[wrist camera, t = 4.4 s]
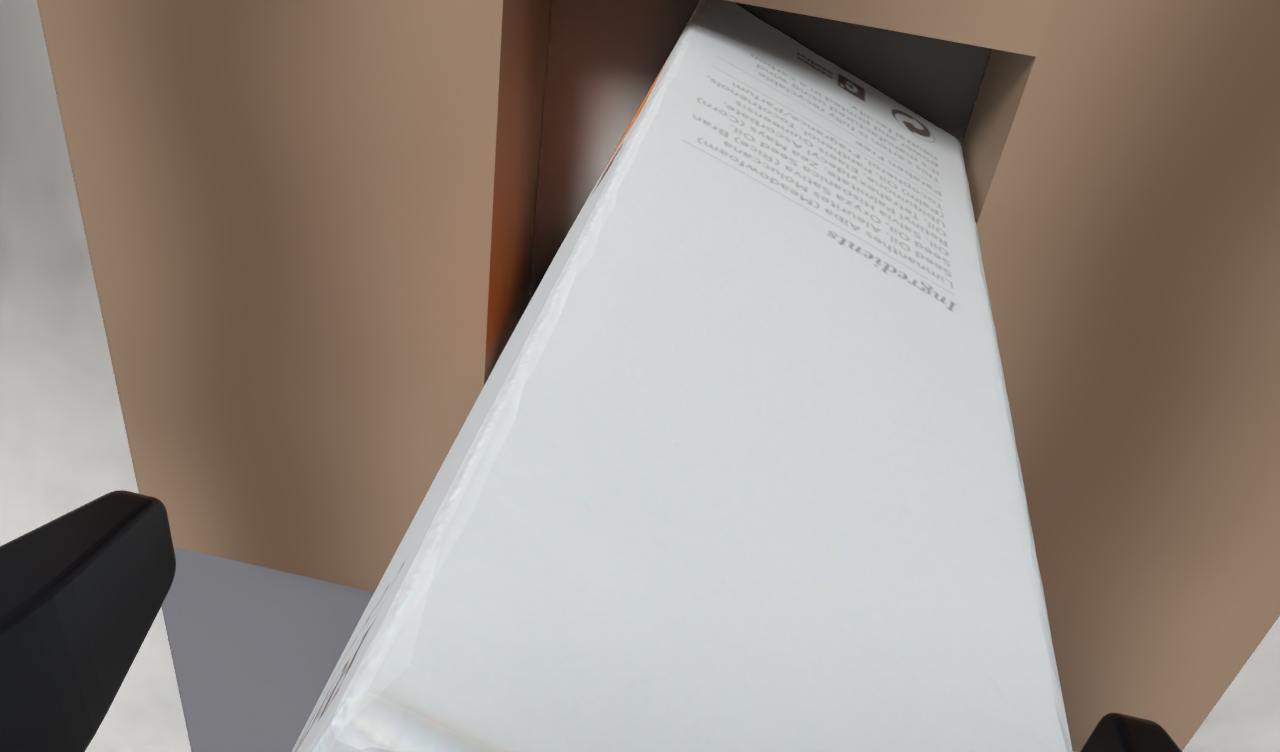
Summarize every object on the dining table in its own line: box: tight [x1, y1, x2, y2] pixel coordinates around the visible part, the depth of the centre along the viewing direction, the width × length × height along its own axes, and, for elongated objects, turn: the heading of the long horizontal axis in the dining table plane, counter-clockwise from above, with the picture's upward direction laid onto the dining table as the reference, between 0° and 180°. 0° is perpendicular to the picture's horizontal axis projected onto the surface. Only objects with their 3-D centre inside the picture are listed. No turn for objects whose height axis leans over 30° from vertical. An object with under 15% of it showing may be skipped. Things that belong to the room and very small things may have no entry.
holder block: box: [37, 0, 1280, 752], centre depth 15 cm, size 18×14×2 cm
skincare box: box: [292, 0, 1073, 752], centre depth 11 cm, size 6×4×12 cm
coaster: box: [162, 547, 374, 752], centre depth 24 cm, size 11×11×1 cm
